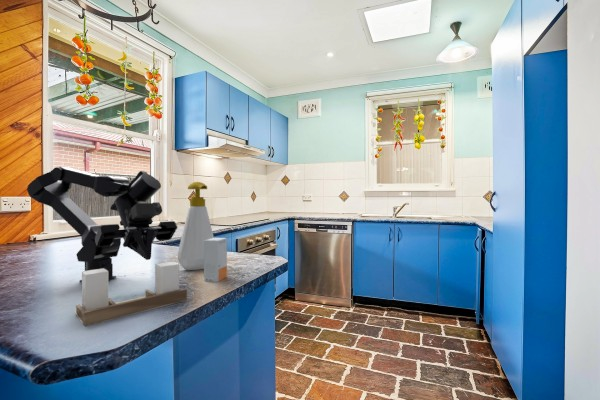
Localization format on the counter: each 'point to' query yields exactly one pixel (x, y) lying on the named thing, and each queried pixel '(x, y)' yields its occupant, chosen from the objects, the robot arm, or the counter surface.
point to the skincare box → (215, 259)
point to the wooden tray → (129, 306)
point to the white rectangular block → (166, 277)
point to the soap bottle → (195, 231)
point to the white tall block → (95, 289)
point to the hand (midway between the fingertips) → (148, 258)
